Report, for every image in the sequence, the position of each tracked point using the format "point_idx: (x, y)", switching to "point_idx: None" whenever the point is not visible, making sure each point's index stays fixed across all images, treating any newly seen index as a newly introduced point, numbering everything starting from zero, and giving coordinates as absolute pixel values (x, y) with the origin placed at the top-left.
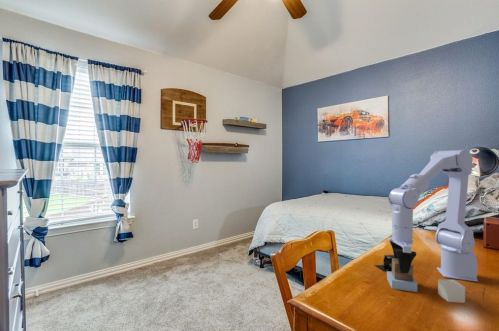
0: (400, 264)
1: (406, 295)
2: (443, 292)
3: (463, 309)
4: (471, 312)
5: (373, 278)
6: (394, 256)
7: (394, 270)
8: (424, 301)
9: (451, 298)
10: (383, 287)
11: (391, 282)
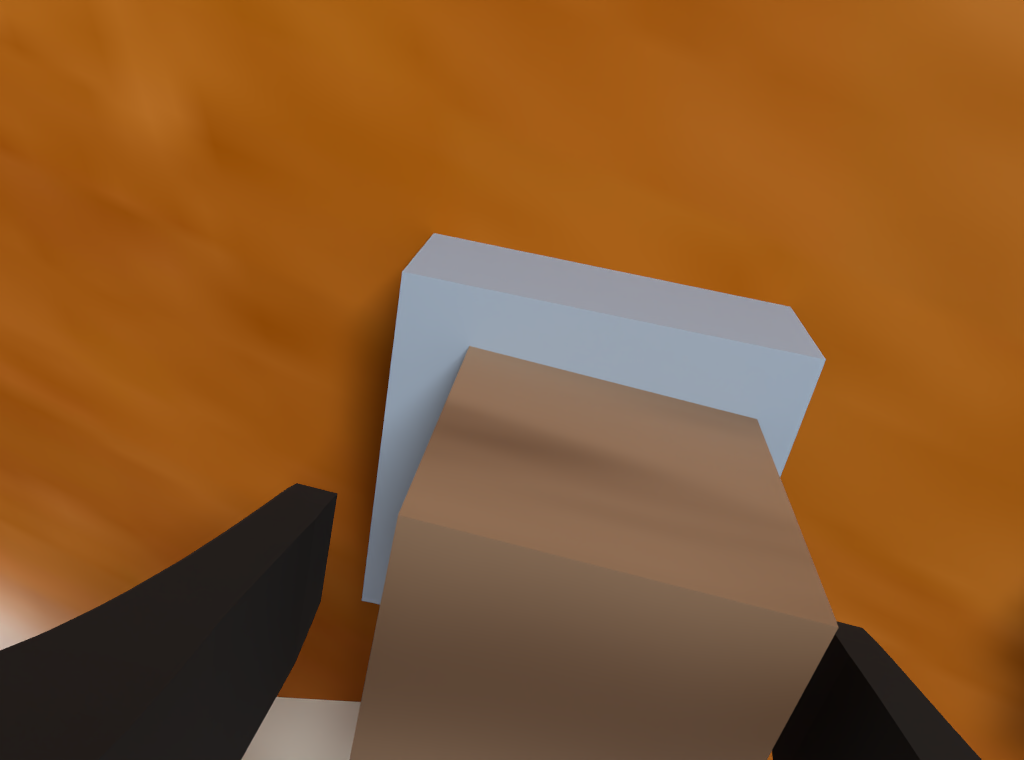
0: (169, 582)
1: (259, 347)
2: (280, 751)
3: None
4: None
5: (809, 51)
6: (898, 723)
7: (476, 422)
8: (163, 482)
9: None
10: (448, 105)
11: (446, 262)
